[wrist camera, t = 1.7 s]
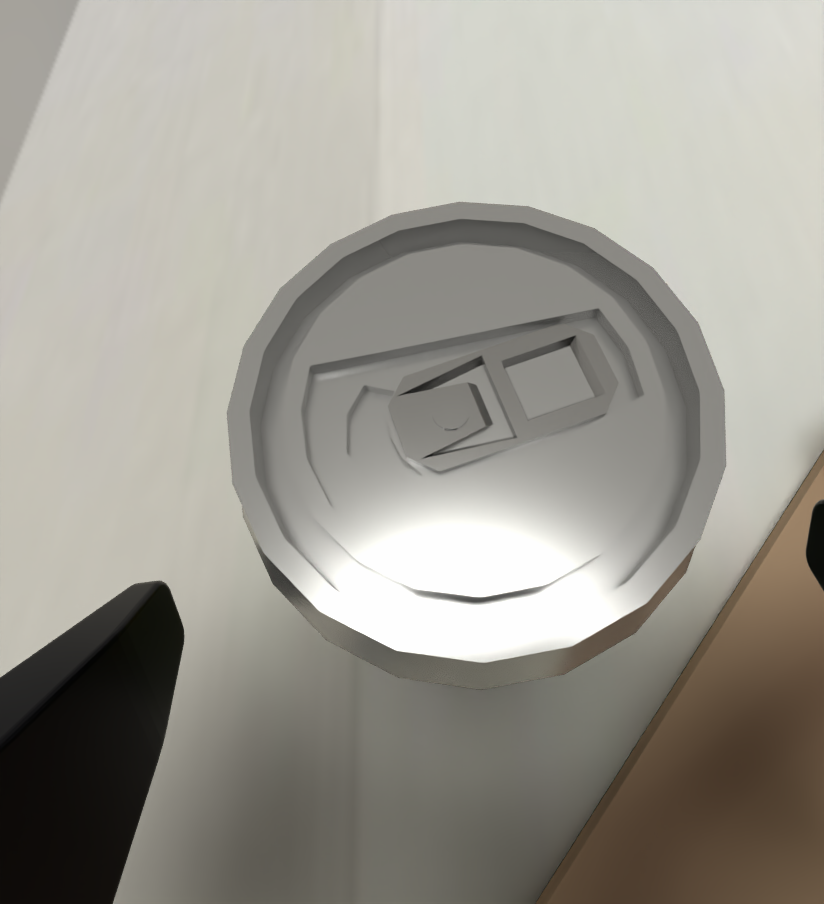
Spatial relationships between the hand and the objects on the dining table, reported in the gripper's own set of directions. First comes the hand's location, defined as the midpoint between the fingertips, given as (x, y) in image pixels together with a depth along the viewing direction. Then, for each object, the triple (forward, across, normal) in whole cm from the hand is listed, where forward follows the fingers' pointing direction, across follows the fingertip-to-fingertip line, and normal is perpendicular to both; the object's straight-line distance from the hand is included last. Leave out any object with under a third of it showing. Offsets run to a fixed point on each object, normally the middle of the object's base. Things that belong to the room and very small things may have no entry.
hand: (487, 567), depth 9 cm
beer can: (+7, 0, +6) cm, 9 cm away
